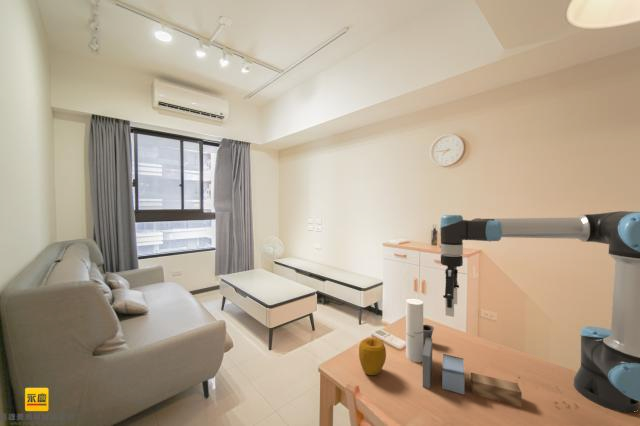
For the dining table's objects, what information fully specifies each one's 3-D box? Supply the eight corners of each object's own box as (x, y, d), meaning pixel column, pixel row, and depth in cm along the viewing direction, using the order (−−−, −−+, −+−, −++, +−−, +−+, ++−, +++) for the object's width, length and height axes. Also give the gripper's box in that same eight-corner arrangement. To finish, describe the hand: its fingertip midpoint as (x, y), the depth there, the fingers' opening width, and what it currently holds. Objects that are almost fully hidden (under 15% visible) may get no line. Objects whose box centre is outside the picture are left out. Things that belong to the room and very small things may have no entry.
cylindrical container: (424, 363, 107) (424, 305, 107) (407, 361, 108) (407, 303, 108) (421, 353, 114) (421, 299, 114) (405, 351, 115) (404, 298, 115)
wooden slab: (517, 397, 88) (517, 383, 88) (521, 407, 83) (521, 392, 83) (470, 385, 94) (470, 372, 94) (472, 394, 89) (472, 380, 89)
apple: (384, 383, 95) (384, 350, 95) (356, 377, 98) (356, 345, 98) (387, 366, 105) (386, 335, 105) (361, 361, 109) (361, 332, 108)
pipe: (407, 343, 123) (407, 327, 123) (428, 339, 127) (428, 323, 126) (415, 350, 117) (415, 333, 117) (437, 345, 121) (437, 329, 121)
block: (463, 377, 97) (463, 358, 97) (464, 394, 88) (464, 373, 88) (443, 372, 101) (443, 353, 100) (442, 388, 92) (442, 368, 92)
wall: (432, 367, 104) (432, 338, 104) (429, 388, 92) (429, 356, 92) (425, 365, 105) (425, 337, 105) (422, 386, 93) (422, 354, 93)
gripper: (444, 249, 109) (445, 297, 110) (435, 259, 88) (436, 319, 89) (464, 250, 105) (464, 300, 106) (460, 261, 84) (460, 324, 85)
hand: (451, 309), depth 97 cm, fingers open, 13 cm apart
